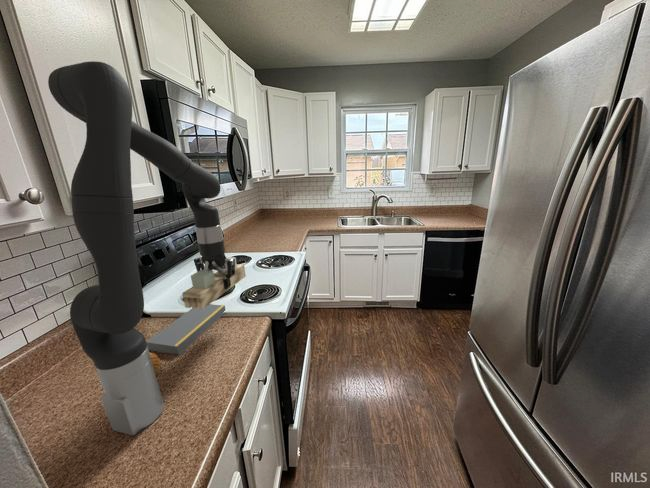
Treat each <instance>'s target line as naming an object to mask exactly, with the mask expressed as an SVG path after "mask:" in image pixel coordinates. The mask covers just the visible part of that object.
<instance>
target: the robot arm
mask: <svg viewBox="0 0 650 488" xmlns="http://www.w3.org/2000/svg"><path fill="white" fill-rule="evenodd" d="M47 80H48V81H47V82H48V83H47V84H48V89H49V91H50V94H51V95H52V98H53V99H54V100H55V102H56V103H57V104H58V105H59V106H60V107H61V108H62V109H63V110H64V111H66V112H68V113H69V114H70V115H72V116H74V117H75V118H76V119H78V120H80V121H81V122H84V123H85V126H86V136H85V137H86V140H85V144H84V148H83V151H82V154H81V156H80V158H79V160H78V163H77V166H76V168H75V171H74V172H73V176H72V179H71V185H70V198H71V211H72V219H73V222H74V226H75V229H76V231H77V233H78V234H79V236H80V238H81V240H82V242H83V243H84V245H85V247H86V248H87V250H88V251H89V253H90V255H91V256H92V259H93V261H94V263H95V267H96V271H97V276H98V284H95V285H91V286H90V285H89V286H87V287H86V288H84V289H82V290H81V291H79V292H78V293H77V294H76V295H75V297H74V298H73V300H72V302H71V305H70V308H69V316H70V322H71V324H72V327H73V330H74V332H75V334H76V337H77V339H78V341H79V344H80V346H81V348H82V350H83V351H84V353H85V354H86V355H87V357H88V358H89V359H90V360H92V362H93V364H94V367H95V370H96V372H97V375H98V379H99V381H100V383H101V387H102V389H103V391H104V394H102V396H101V398H100V399H101V402H102V404H103V405H102V406H103V407H104V410H105V413H106V416H107V419H108V420H109V423H110V427H111V429H112V431H114V432H118V433H121V434H122V433H123V434H126V435H129V436H136V434H137V433H138V432H140V431H141V430H143V429H145V428H147V427H148V426H150V425H151V424H152V423H153V422H154V421H156V419H158V417H160V415H161V413H162V412H163V410H164V407H165V405H164V403H165V402H164V400H163V397H162V393H161V389H160V386H159V382H158V379H157V375H155V371H154V368H153V364H152V361H151V357H150V354H149V352H150V350H148V347H147V343H146V342H147V339H146V337H145V335H144V334H143V333H142V332H141V331H139V330H138V329H137V328H136V326H137V325H138V324H139V322H140V321H141V319H142V316H143V313H144V308H145V297H144V292H143V285H142V282H141V275H140V271H139V264H138V259H137V258H138V257H137V247H136V245H137V244H136V235H135V234H136V233H135V213H134V197H133V187H132V165H131V164H132V162H131V150H132V151H133V152H134V153H136V154H138V155H139V156H140V157H142V158H143V159H145V160H146V161H148V162H149V163H151V164H152V165H153V166H155V167H156V168H158V169H159V170H160V171H161V172H162V173H164V174H165V175H167V176H168V177H169V178H171V179H172V180H173V181H175V182H177V183H181V184H182V192H183V195H184V198H185V200H186V201H187V204H188V206H189V208H190V210H191V212H192V213H193V214H192V215H193V219H194V224H195V231H196V232H195V233H196V239H197V240H196V241H197V245H198V252H199V255H200V256H198V257H196V258H193V263H194V266H195V269H196V273H197V272H198V271H200V270H207V271H216V272H218V273H219V274H221V275H222V277H223V283H224V289H228V288H230V286H231V282H230V278H231V277H232V276H233V275H235V259H234V258H232V259H227V258H226V257H227V256H226V255H225V254H226V247H225V242H224V234H223V230H222V226H221V221H220V215H219V211H218V208H217V207H216V206H215V205H211V204H209V203H207V201H206V199H214V198H216V197H218V196H219V195H220V193H221V184H220V181H219V180H218V178H217V176H216V175H215V174H213V173H212V172H210V171H209V170H208V169H205V168H204V167H202V166H201V165H199V164H198V163H195V162H193V160H191V159H190V158H189V157H188V156H187V155H186V154H184V153H183V152H182V151H181V150H180V149H179V147H177V146H175V144H173V143H171V142H170V141H168V140H167V139H164V138H163V137H161V136H159V135H158V134H156V133H154V132H152V131H150V130H148V129H146V128H144V127H143V126H140V125H139V124H138V123H136V122H135V121H133V99H132V98H133V97H132V94H131V91H130V90H131V89H130V88H129V85H128V83H127V81H126V80H125V78H124V77H123V76H122V74H121V73H120V72H119V71H118V70H117V69H116V68H114V67H113V65H110V64H109V63H105V62H103V61H92V60H91V61H84V62H80V63H79V62H78V63H75V64H69V65H65V66H60V67H59V68H56V69H54V70H53V71H51V73H49V76H48V79H47ZM225 262H226V264H225ZM221 268H223V270H222V269H221ZM224 272H225V273H224ZM230 289H231V288H230Z"/></svg>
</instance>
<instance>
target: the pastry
mask: <svg viewBox="0 0 650 488" xmlns="http://www.w3.org/2000/svg"><path fill="white" fill-rule="evenodd" d="M149 354H150V357H151V361H152V364H153V368H154V371H155V375H156V376H157V375H158V374H159V373H160V370H161V359H160V358H159V357H158V354H156V353H154V352H153V353H152V352H150V351H149Z"/></svg>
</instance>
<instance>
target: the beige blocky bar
mask: <svg viewBox="0 0 650 488" xmlns="http://www.w3.org/2000/svg"><path fill="white" fill-rule="evenodd" d="M246 275H247V274H246V268H245V264H239V263H238V264H237V269H235V275H233V276H232V277H231V278H230V282H231V286H230V288H228V289H224V283H223V277H222V275H221V274H219V273H218V271H216V272H214V278H215V283H214V284H213V285H211V286H210V287H208V288H207V289H200V288H193V286H191V287H190V288H189V289H187V290H185V291H184V292H182V297H183V302H184V307H185V308H187V309H192V308H195V309H196V308H197V307H198V309H204V308H205V307H206V306H208V305H209V304H211V303H212V304H213V302H214V301H216V300H217V299H218V298H219V297H221V296H222V295H224V294H225V293H226V292H228V290H230V289H231V288H233V287H234V286H235V285H236V284H238V283H239V282H241V281H242V280H243V279H244V278H246Z"/></svg>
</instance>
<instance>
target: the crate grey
mask: <svg viewBox="0 0 650 488" xmlns="http://www.w3.org/2000/svg"><path fill="white" fill-rule="evenodd" d="M226 258H227V259H232V258H234V259H235V269H237V257H234V256H231V257H230V256H226ZM225 264H226V262H225ZM221 269H222V270H223V268H221ZM224 273H225V272H224Z"/></svg>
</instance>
